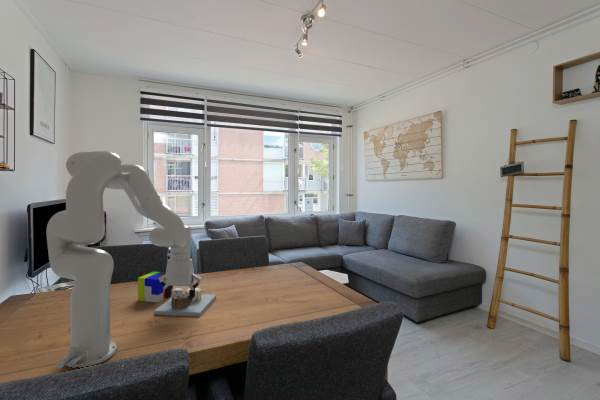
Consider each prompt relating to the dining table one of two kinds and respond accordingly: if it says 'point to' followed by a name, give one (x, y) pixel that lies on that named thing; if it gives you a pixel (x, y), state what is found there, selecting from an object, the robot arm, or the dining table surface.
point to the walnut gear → (180, 301)
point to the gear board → (195, 304)
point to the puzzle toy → (151, 287)
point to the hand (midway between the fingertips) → (180, 298)
